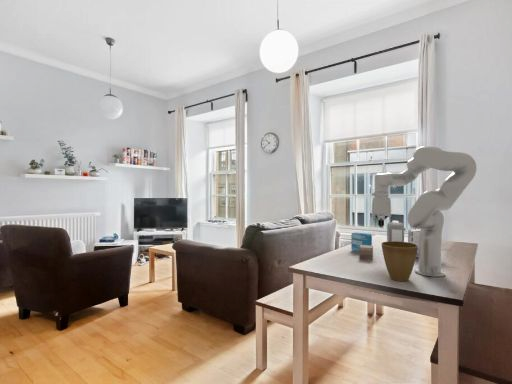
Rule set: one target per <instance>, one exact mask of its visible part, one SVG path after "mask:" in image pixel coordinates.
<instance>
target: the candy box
mask: <svg viewBox="0 0 512 384" xmlns="http://www.w3.org/2000/svg"><path fill="white" fill-rule="evenodd" d="M420 230H421V229H407V242H409V243H413V244H416V245H418V248H417V254H416V259H417V260H419V233H420ZM416 259H415V260H416Z"/></svg>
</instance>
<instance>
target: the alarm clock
mask: <svg viewBox="0 0 512 384" xmlns="http://www.w3.org/2000/svg"><path fill="white" fill-rule="evenodd" d="M388 241H399V242H405V227H404V223H403V222H400V221H399V220H392V221H391V222H389V221H388V222H387V225H386V242H388Z"/></svg>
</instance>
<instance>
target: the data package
mask: <svg viewBox="0 0 512 384" xmlns="http://www.w3.org/2000/svg"><path fill="white" fill-rule="evenodd" d="M350 239H351V242H350V244H351V245H350V247H351V251H352V252H356V251H357V253H360V245H368V246H373V242H372V241H373V235H372V234H371V233H365V232H357V231H355V232H352V233H351V238H350Z"/></svg>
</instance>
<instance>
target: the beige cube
mask: <svg viewBox="0 0 512 384" xmlns="http://www.w3.org/2000/svg"><path fill="white" fill-rule="evenodd" d="M373 259H374V245H372V246H368V245H360V252H359V260H365V261H373Z"/></svg>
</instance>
